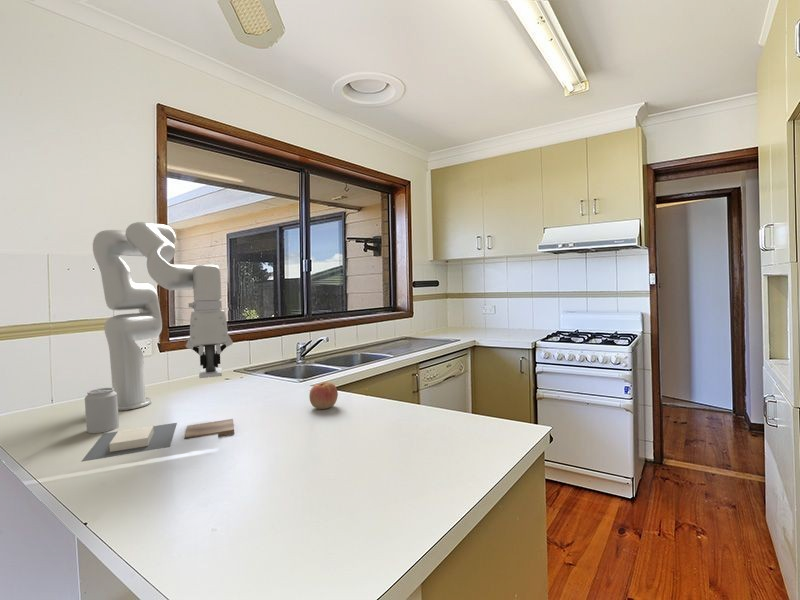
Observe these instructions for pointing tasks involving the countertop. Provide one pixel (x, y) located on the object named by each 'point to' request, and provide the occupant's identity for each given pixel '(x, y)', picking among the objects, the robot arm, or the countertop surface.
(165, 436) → the mat
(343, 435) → the countertop surface
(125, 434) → the tile
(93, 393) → the can
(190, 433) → the plate
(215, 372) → the grey post stand
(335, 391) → the apple
